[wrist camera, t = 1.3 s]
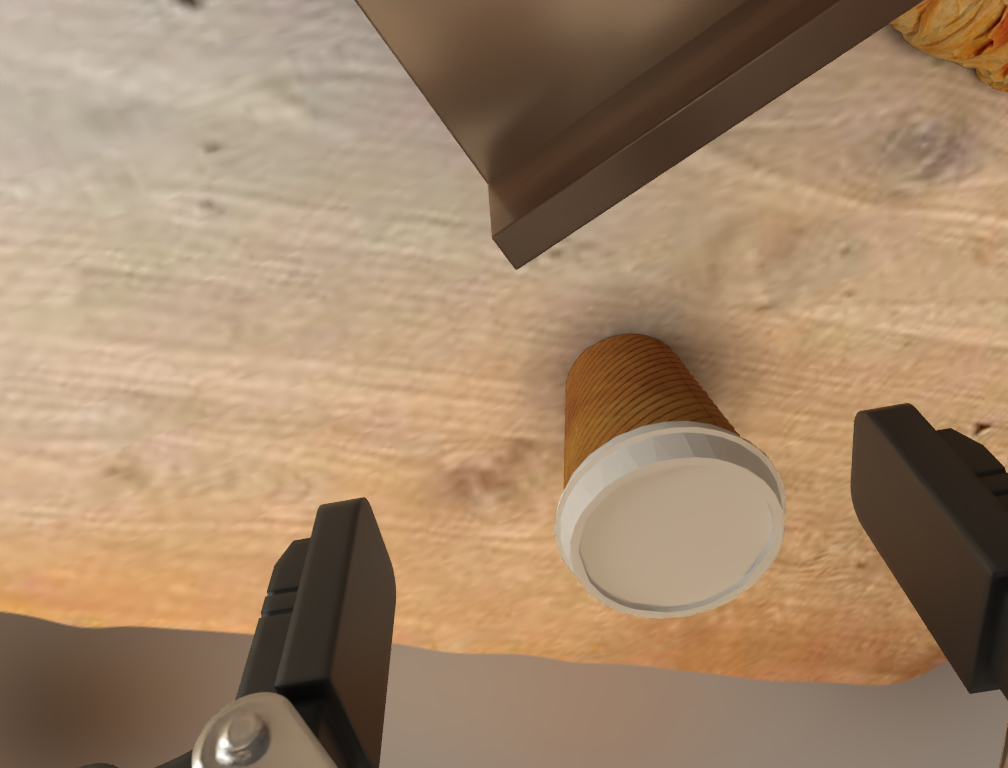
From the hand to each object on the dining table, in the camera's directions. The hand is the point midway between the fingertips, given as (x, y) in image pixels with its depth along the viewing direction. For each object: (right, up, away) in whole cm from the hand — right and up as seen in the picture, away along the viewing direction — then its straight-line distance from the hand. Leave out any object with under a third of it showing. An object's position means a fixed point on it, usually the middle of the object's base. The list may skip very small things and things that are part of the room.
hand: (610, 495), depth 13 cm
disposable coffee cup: (+5, +2, +29) cm, 29 cm away
